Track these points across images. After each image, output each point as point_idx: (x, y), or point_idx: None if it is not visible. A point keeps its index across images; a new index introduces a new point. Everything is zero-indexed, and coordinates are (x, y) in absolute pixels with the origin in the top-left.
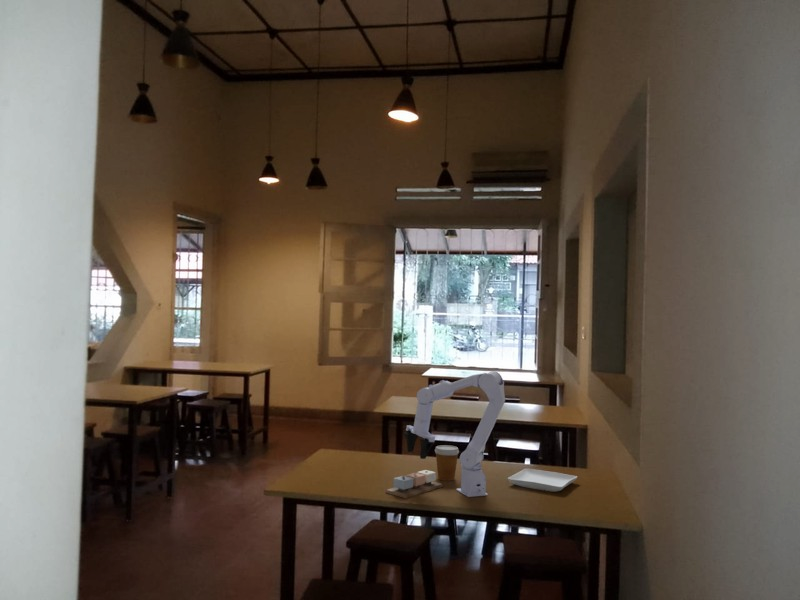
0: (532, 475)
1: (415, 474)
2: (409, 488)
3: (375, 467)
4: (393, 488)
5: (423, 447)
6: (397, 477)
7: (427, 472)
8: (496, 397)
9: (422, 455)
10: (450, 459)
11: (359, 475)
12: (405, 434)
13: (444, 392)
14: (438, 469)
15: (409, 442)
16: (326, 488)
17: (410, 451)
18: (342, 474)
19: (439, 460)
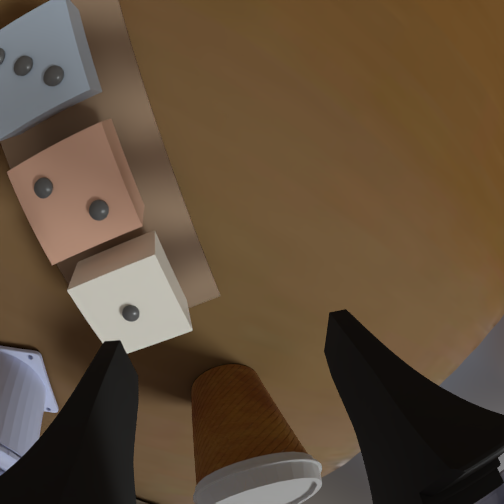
0: None
1: (90, 209)
2: (69, 126)
3: (482, 207)
4: (114, 30)
5: (31, 447)
6: (65, 27)
7: (120, 313)
8: None
9: (93, 372)
10: (196, 467)
11: (450, 75)
12: (492, 431)
13: None
14: (241, 394)
15: (379, 396)
16: None
17: (328, 334)
18: (477, 37)
19: (238, 433)
